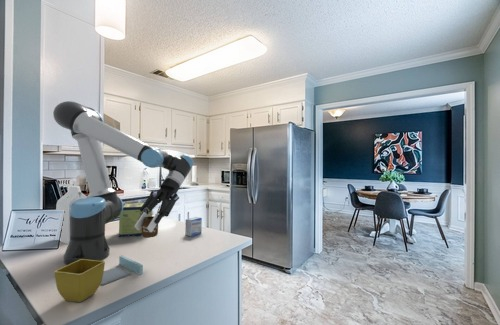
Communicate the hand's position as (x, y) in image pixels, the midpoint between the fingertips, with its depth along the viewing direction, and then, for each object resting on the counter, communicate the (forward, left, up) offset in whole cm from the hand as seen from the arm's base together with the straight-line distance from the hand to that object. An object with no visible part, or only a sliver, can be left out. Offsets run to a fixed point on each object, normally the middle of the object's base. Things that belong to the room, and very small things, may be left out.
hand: (143, 229), depth 90 cm
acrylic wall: (0, -5, -13) cm, 14 cm away
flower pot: (+6, -23, -14) cm, 27 cm away
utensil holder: (-1, +4, -4) cm, 5 cm away
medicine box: (-13, +37, -14) cm, 42 cm away
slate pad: (0, -12, -13) cm, 18 cm away
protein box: (-38, +19, -14) cm, 45 cm away
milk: (-54, -4, -14) cm, 56 cm away
